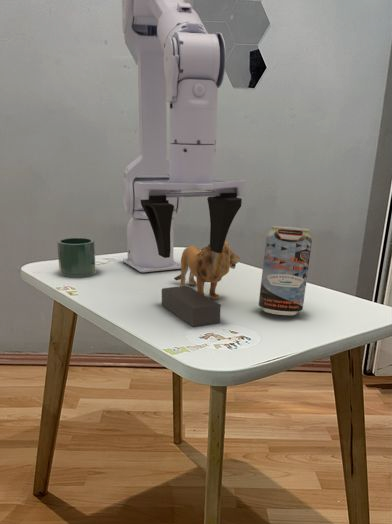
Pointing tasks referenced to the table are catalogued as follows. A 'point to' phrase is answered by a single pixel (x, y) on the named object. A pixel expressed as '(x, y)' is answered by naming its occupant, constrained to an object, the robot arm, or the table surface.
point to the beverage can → (285, 270)
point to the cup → (76, 257)
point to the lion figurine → (206, 266)
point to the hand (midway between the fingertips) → (190, 253)
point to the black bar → (191, 305)
